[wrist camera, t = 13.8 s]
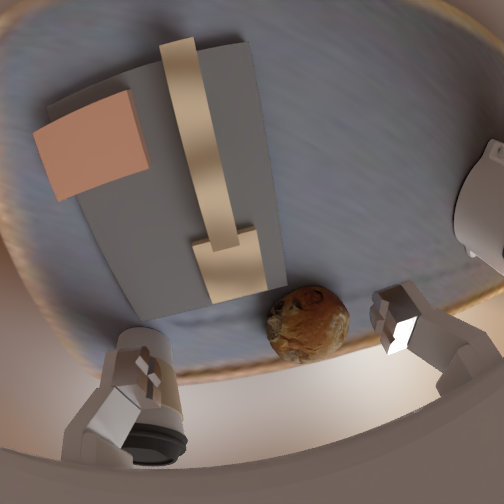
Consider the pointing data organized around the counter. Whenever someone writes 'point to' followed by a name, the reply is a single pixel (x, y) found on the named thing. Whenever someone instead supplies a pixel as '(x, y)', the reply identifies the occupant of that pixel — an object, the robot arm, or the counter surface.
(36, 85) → the counter surface
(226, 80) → the mat
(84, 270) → the counter surface
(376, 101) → the counter surface
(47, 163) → the tile
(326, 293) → the bread roll
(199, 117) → the spatula
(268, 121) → the counter surface
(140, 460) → the coffee cup
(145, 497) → the robot arm
